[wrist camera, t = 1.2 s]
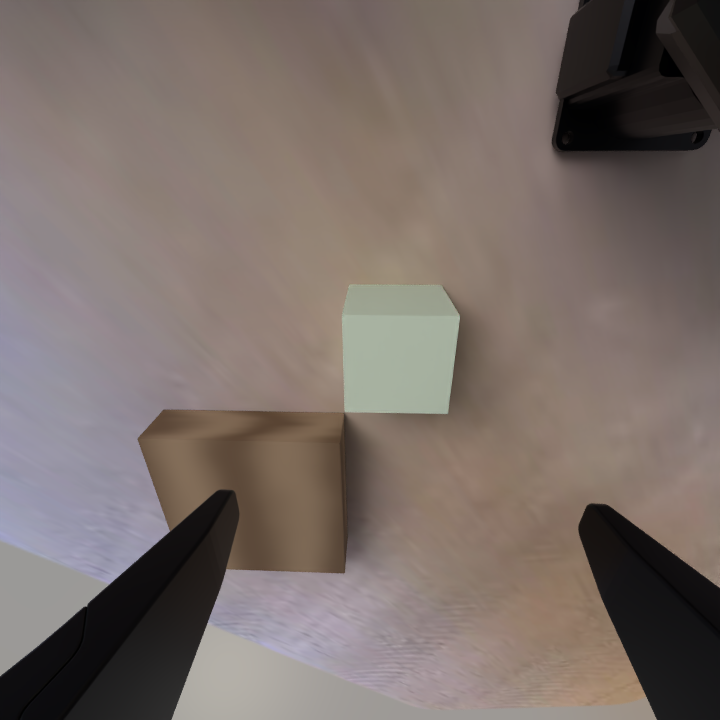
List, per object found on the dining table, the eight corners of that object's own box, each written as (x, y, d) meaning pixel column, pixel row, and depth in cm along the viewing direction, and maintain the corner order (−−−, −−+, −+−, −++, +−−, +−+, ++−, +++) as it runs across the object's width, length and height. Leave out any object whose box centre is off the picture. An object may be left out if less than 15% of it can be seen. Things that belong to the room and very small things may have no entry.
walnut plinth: (344, 413, 24) (339, 443, 21) (347, 536, 29) (344, 573, 26) (163, 409, 24) (137, 438, 22) (200, 532, 30) (182, 567, 27)
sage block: (440, 284, 20) (460, 316, 15) (433, 365, 22) (447, 413, 18) (349, 284, 20) (341, 315, 16) (350, 364, 22) (344, 412, 18)
